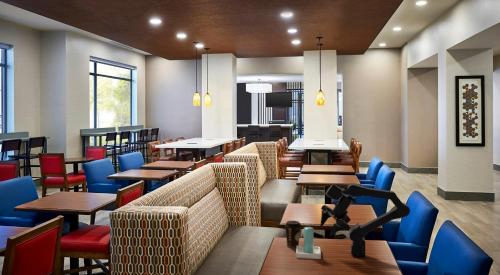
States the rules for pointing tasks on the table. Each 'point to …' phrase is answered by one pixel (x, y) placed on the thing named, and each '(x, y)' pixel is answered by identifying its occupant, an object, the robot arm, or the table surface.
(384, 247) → the table surface
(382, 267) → the table surface
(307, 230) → the teal cylinder
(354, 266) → the table surface
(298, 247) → the tray
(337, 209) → the robot arm
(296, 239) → the coffee cup
